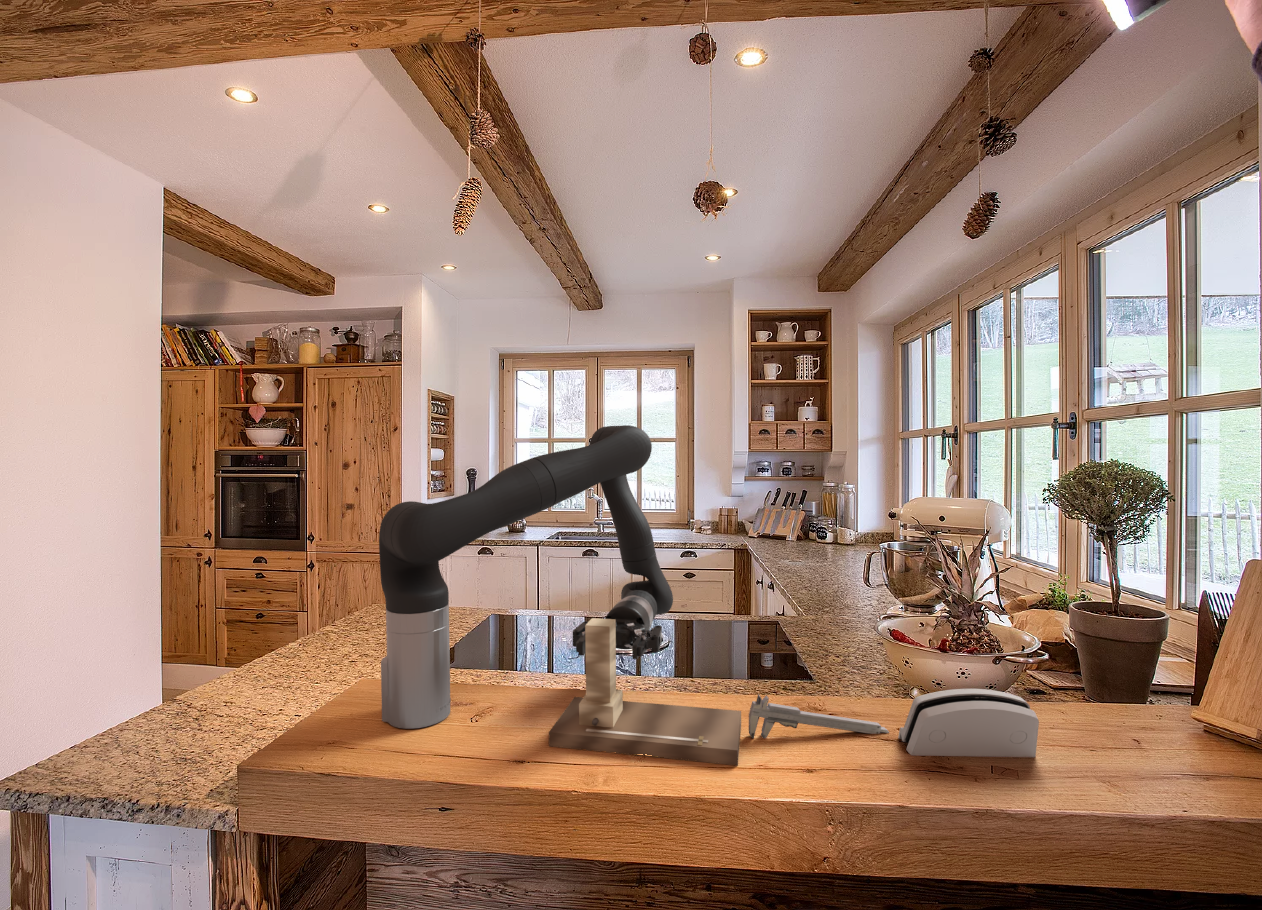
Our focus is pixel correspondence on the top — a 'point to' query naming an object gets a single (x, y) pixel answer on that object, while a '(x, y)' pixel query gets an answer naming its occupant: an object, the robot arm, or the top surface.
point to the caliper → (803, 719)
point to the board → (656, 732)
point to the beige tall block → (600, 676)
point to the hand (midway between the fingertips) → (607, 651)
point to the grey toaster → (970, 724)
